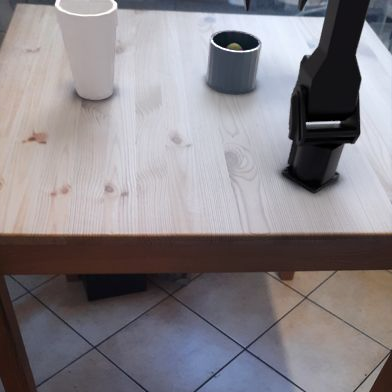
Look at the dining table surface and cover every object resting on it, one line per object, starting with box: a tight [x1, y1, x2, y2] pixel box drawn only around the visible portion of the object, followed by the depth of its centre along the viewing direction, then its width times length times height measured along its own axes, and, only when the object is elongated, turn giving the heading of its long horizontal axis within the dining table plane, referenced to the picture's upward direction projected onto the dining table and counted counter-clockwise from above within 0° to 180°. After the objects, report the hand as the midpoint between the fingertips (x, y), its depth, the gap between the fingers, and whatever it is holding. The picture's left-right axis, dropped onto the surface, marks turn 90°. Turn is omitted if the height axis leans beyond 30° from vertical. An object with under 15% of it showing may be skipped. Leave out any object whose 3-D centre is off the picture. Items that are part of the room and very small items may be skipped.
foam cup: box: [54, 0, 119, 101], centre depth 80 cm, size 10×9×13 cm
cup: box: [206, 29, 263, 95], centre depth 87 cm, size 9×9×7 cm
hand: (273, 10), depth 81 cm, fingers open, 9 cm apart
